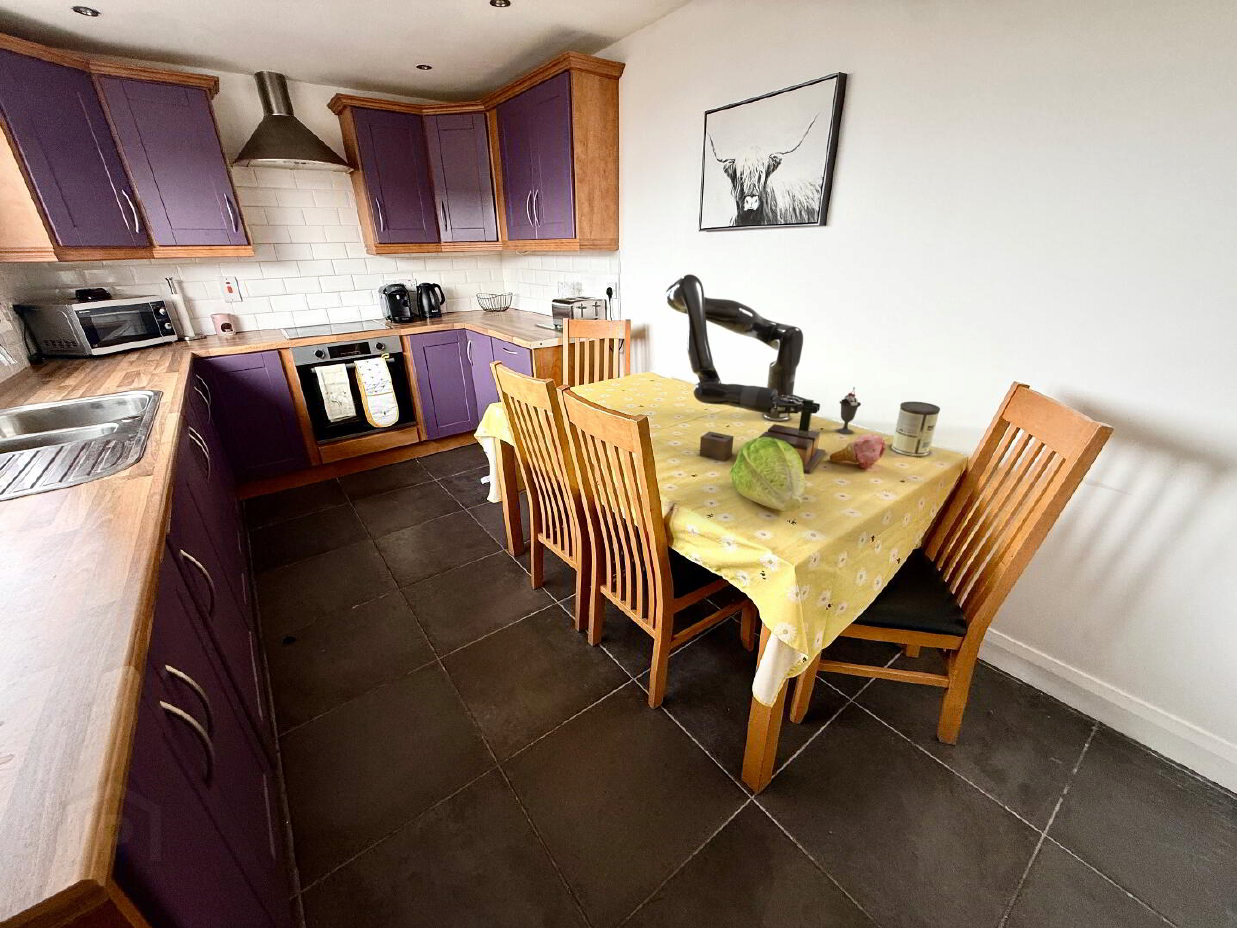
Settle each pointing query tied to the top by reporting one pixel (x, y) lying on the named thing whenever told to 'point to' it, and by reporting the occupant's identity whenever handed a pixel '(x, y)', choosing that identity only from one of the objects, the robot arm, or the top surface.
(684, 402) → the top surface
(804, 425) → the knife
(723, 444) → the knife block
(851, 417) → the sundae
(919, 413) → the coffee can
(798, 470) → the lettuce
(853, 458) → the ice cream
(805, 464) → the slotted wooden block
